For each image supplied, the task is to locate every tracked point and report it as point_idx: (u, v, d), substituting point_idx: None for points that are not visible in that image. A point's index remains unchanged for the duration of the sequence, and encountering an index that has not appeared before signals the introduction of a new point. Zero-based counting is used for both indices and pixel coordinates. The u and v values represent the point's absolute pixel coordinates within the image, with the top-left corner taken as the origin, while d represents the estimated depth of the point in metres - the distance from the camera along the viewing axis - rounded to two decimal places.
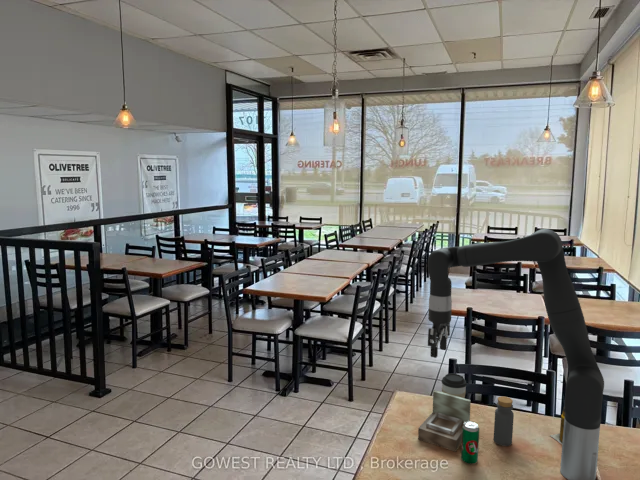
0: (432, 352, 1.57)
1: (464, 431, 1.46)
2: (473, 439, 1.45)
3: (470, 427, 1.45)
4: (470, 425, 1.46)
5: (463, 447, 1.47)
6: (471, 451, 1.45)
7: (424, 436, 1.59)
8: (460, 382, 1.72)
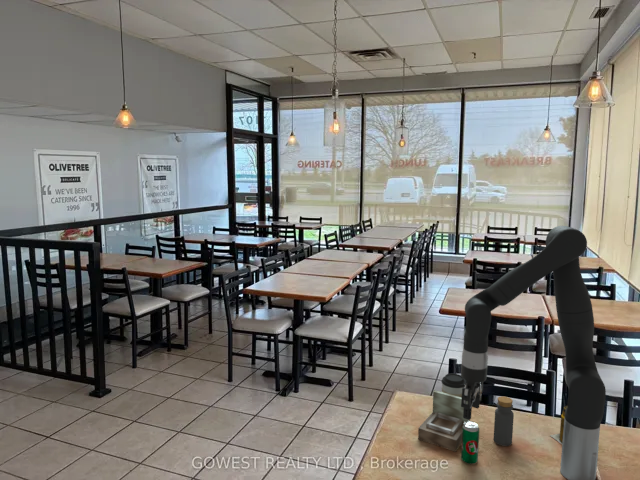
0: (465, 414, 1.42)
1: (464, 431, 1.46)
2: (473, 439, 1.45)
3: (470, 427, 1.45)
4: (470, 425, 1.46)
5: (463, 447, 1.47)
6: (471, 451, 1.45)
7: (424, 436, 1.59)
8: (460, 382, 1.72)
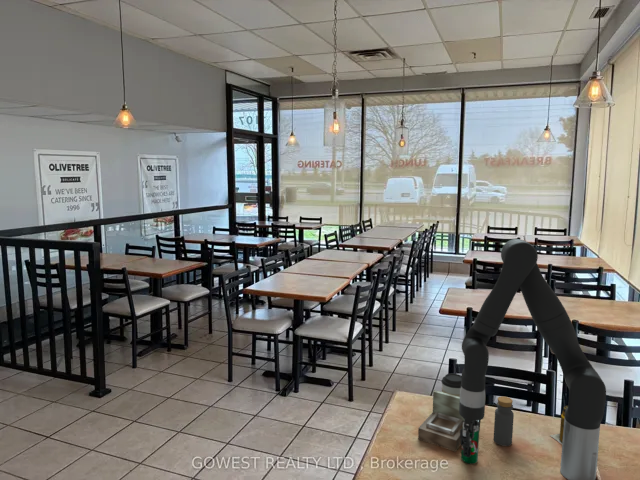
0: (465, 451, 1.45)
1: None
2: (473, 439, 1.45)
3: None
4: None
5: (462, 447, 1.47)
6: (471, 451, 1.45)
7: (424, 436, 1.59)
8: (460, 382, 1.72)
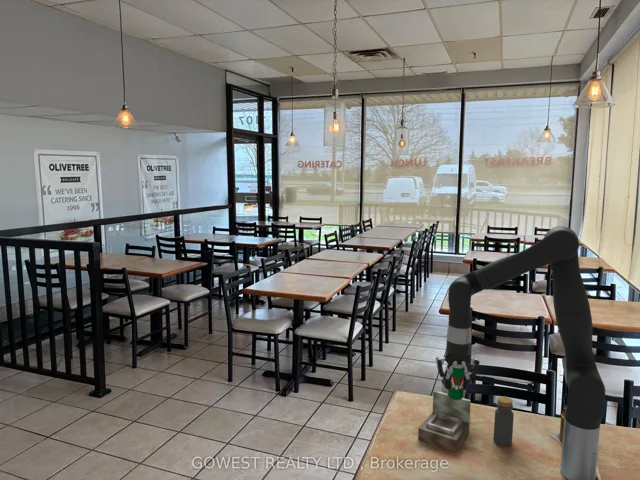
0: (444, 382, 1.54)
1: None
2: None
3: None
4: None
5: None
6: (450, 385, 1.52)
7: (424, 436, 1.59)
8: None
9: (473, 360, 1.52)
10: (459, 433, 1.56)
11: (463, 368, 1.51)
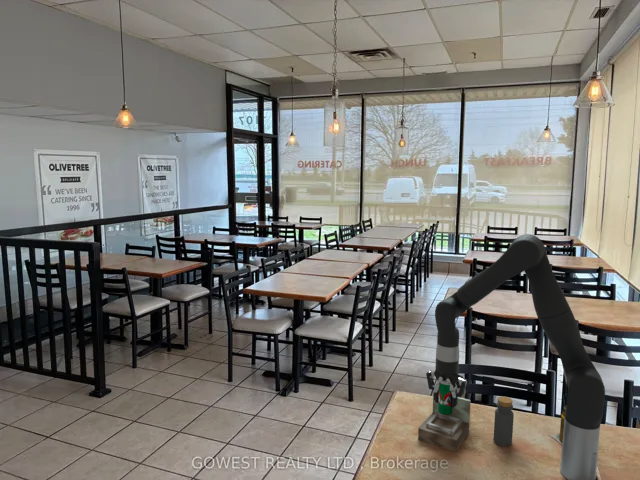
0: None
1: None
2: (438, 388, 1.60)
3: None
4: None
5: None
6: (438, 399, 1.61)
7: (424, 436, 1.59)
8: None
9: (460, 380, 1.56)
10: (459, 433, 1.56)
11: (448, 385, 1.57)
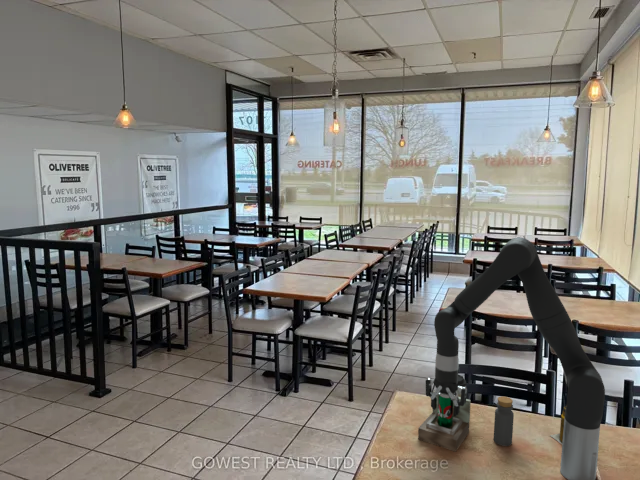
0: None
1: None
2: (438, 401, 1.60)
3: None
4: None
5: None
6: None
7: (424, 436, 1.59)
8: (460, 382, 1.72)
9: (460, 388, 1.56)
10: (459, 433, 1.56)
11: (448, 398, 1.58)
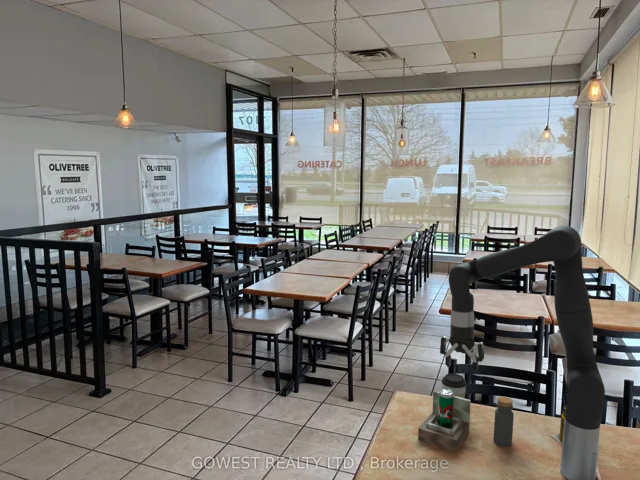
0: None
1: None
2: (438, 401, 1.60)
3: (441, 391, 1.61)
4: (444, 391, 1.60)
5: None
6: None
7: (424, 436, 1.59)
8: (460, 382, 1.72)
9: (476, 344, 1.55)
10: (459, 433, 1.56)
11: (448, 398, 1.58)
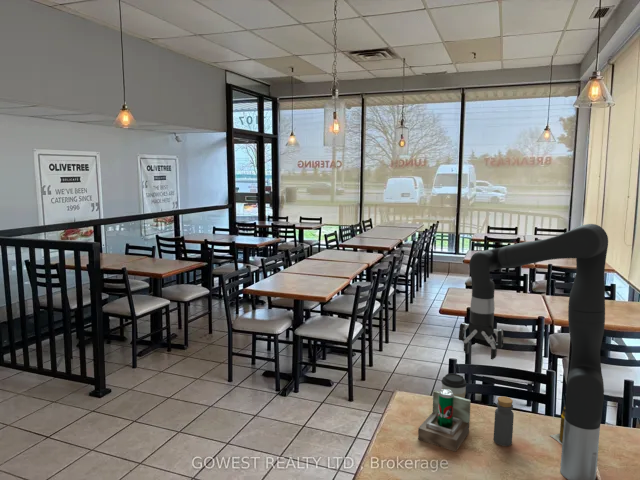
0: None
1: None
2: (438, 401, 1.60)
3: (441, 391, 1.61)
4: (444, 391, 1.60)
5: None
6: None
7: (424, 436, 1.59)
8: (460, 382, 1.72)
9: (496, 331, 1.55)
10: (459, 433, 1.56)
11: (448, 398, 1.58)
